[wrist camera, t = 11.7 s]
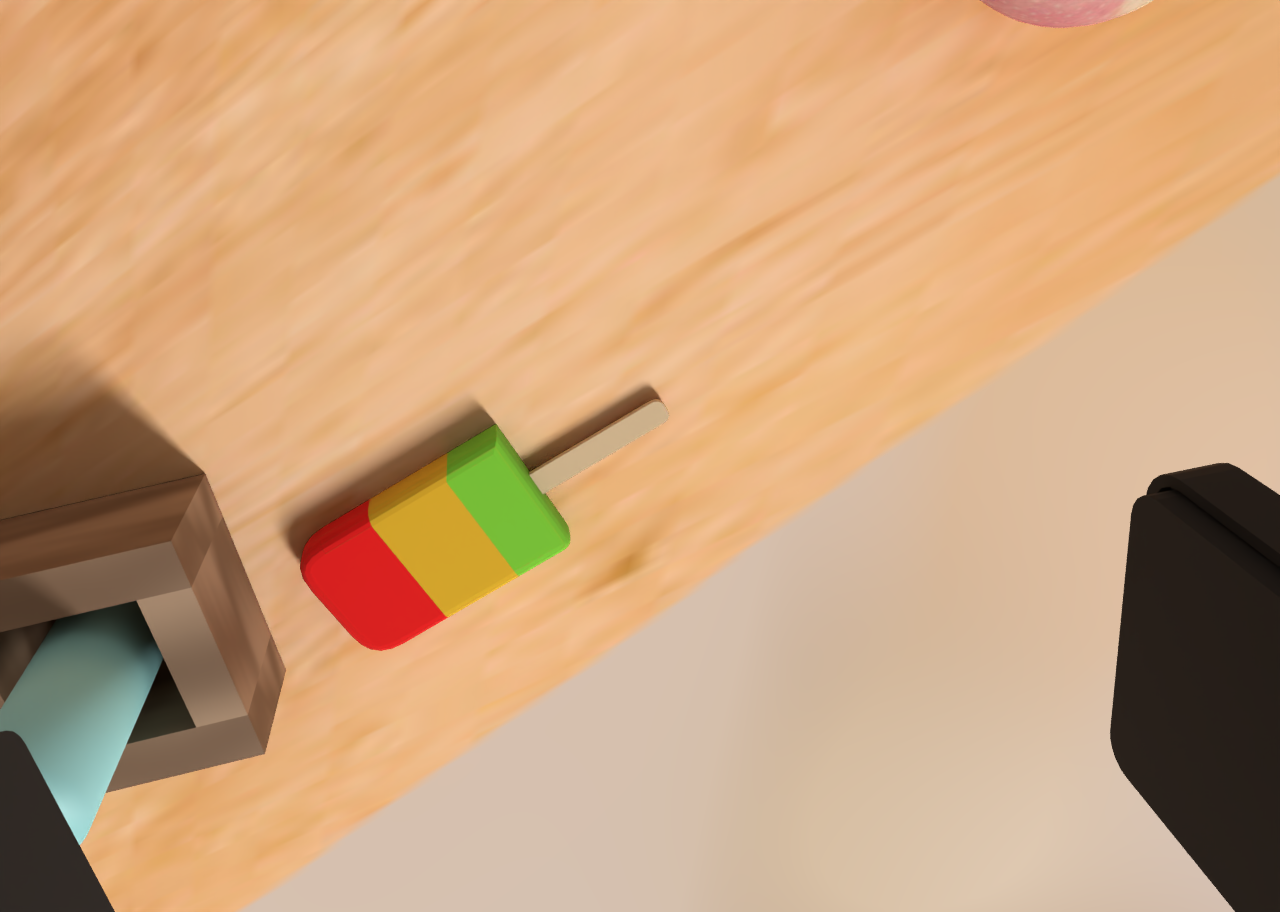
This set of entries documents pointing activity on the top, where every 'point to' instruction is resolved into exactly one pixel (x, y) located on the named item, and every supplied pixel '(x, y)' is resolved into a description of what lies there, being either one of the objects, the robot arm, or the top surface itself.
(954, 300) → the top surface
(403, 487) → the popsicle
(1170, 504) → the robot arm
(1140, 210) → the top surface
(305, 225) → the top surface
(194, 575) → the socket block
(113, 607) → the dowel
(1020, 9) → the apple
